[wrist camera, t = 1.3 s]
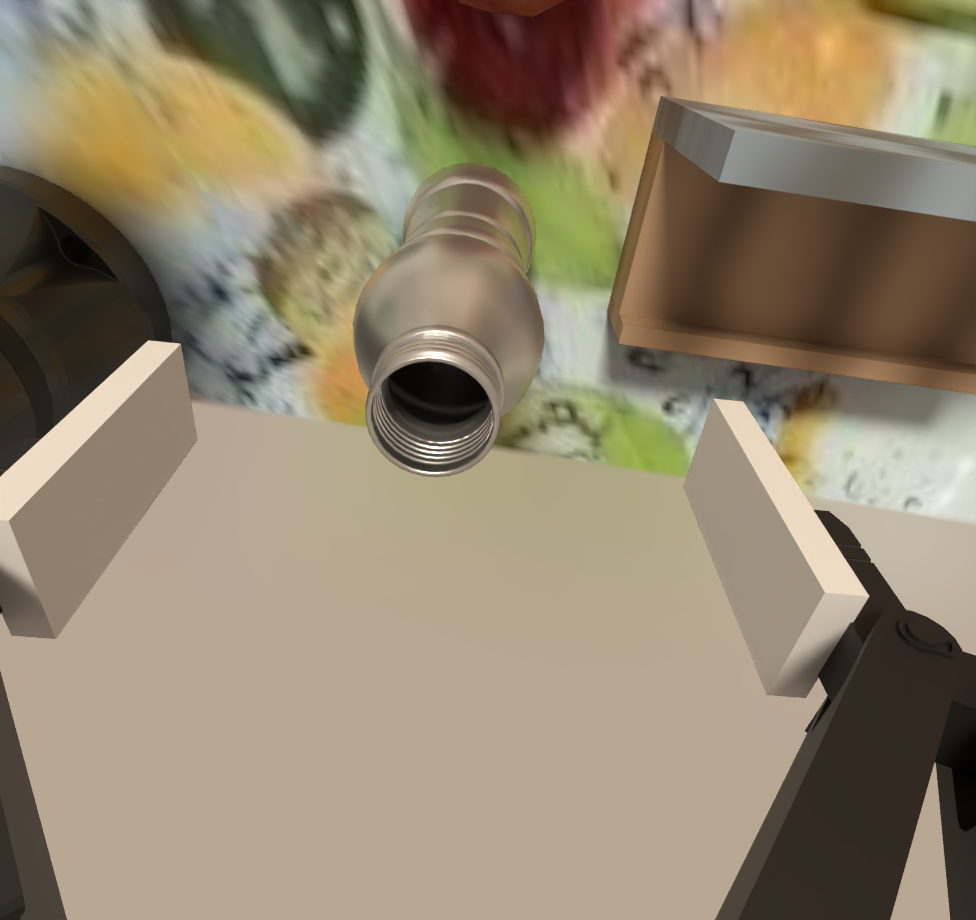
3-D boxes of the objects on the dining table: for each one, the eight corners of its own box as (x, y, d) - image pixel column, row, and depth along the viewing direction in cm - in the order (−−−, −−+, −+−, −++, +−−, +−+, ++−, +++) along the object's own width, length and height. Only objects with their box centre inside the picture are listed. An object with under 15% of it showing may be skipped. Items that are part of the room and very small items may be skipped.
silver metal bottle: (547, 167, 32) (586, 321, 15) (519, 298, 36) (525, 535, 19) (418, 141, 31) (313, 269, 15) (403, 276, 35) (305, 500, 18)
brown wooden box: (607, 310, 36) (644, 420, 26) (660, 96, 30) (735, 130, 20) (951, 359, 37) (1114, 483, 27) (1068, 161, 31) (1331, 225, 21)
